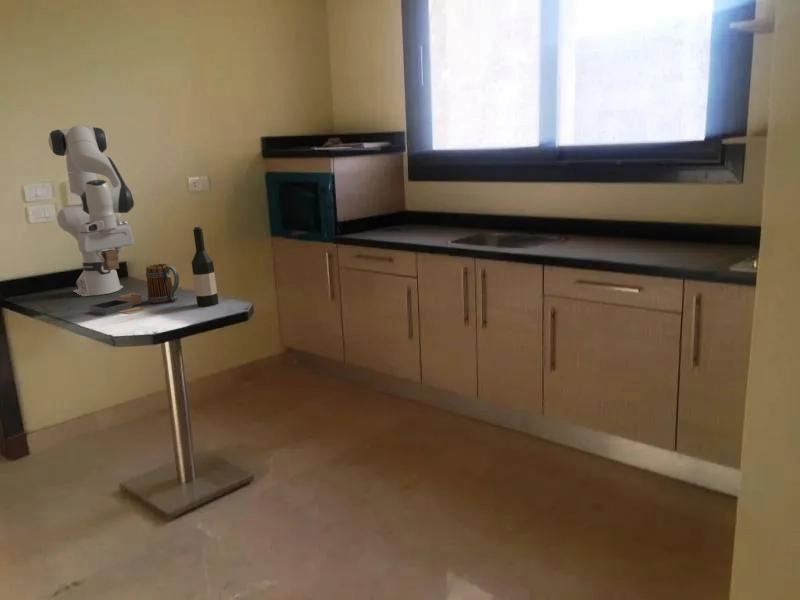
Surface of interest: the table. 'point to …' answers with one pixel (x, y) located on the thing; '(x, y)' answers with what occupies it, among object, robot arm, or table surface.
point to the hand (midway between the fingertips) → (110, 261)
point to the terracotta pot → (132, 298)
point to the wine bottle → (203, 273)
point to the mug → (161, 283)
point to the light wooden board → (133, 310)
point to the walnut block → (110, 260)
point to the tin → (110, 307)
